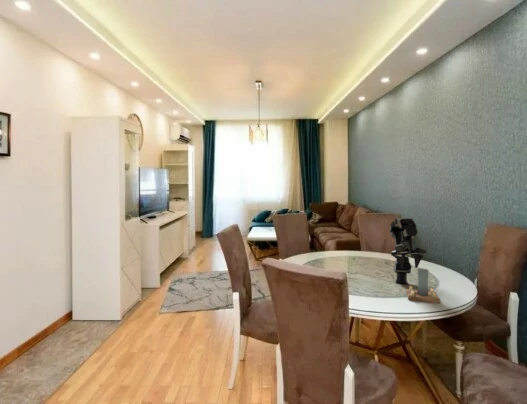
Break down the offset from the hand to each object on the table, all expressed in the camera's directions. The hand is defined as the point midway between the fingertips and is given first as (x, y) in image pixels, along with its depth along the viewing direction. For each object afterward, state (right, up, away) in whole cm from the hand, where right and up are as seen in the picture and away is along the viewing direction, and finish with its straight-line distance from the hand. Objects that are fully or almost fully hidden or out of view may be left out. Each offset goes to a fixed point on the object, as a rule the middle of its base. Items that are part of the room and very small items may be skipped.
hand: (408, 268), depth 177 cm
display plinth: (+3, -13, -9) cm, 16 cm away
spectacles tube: (+2, -11, -10) cm, 16 cm away
